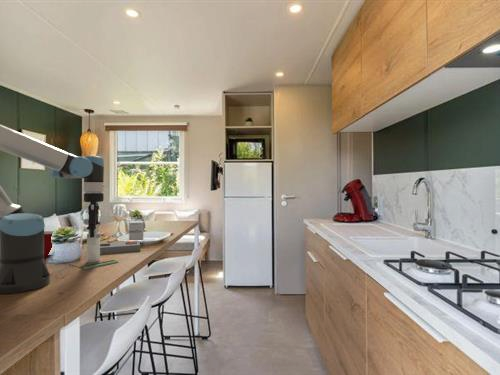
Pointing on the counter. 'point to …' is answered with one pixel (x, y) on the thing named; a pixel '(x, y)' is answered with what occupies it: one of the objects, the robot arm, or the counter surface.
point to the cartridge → (93, 250)
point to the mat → (97, 264)
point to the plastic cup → (47, 243)
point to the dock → (118, 247)
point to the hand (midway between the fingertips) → (93, 242)
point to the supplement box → (136, 230)
